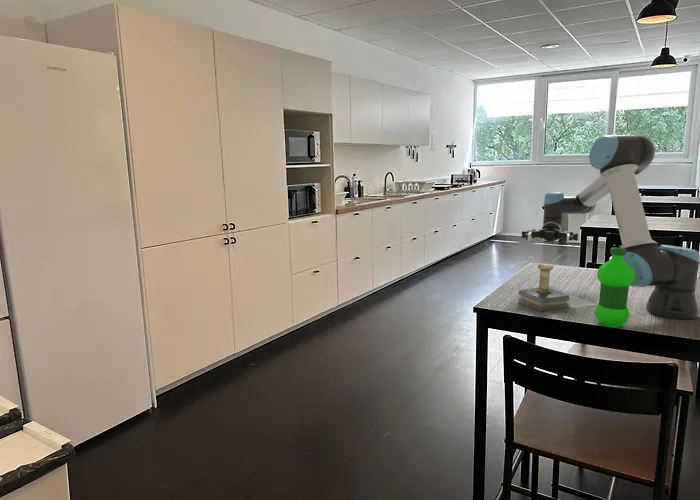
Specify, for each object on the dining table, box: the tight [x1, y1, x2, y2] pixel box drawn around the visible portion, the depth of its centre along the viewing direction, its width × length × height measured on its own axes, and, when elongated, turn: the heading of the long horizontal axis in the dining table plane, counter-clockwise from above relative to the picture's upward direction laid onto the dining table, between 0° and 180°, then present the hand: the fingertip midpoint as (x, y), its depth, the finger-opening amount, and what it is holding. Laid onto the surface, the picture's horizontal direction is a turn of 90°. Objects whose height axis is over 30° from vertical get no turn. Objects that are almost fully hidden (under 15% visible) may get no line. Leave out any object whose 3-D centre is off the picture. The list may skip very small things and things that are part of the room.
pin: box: [537, 263, 554, 295], centre depth 175 cm, size 5×5×15 cm
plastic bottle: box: [594, 246, 635, 329], centre depth 153 cm, size 10×10×25 cm
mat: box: [567, 294, 599, 309], centre depth 180 cm, size 14×12×1 cm
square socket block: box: [517, 287, 570, 313], centre depth 175 cm, size 12×12×5 cm
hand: (548, 238), depth 181 cm, fingers open, 13 cm apart
